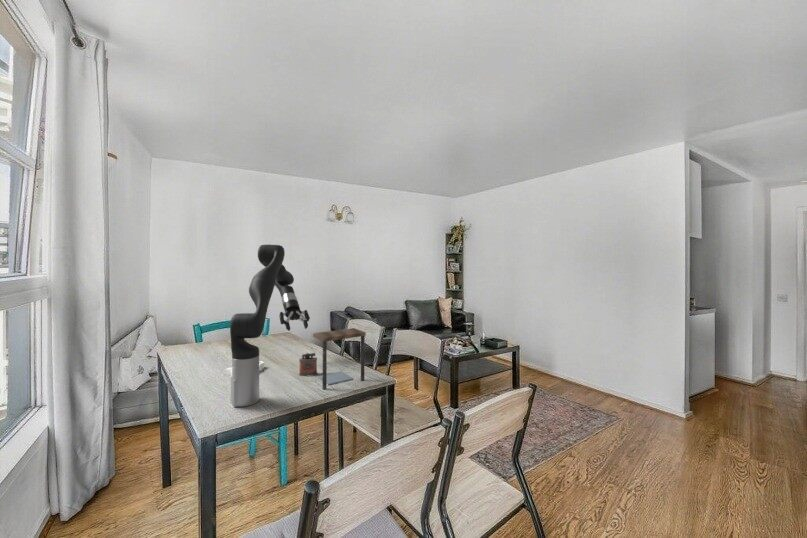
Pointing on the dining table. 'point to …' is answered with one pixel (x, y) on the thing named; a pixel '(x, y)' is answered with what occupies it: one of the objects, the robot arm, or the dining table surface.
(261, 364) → the white brass knuckles
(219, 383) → the dining table surface
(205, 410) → the dining table surface
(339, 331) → the miniature side table
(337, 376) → the pad
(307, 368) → the lighter
